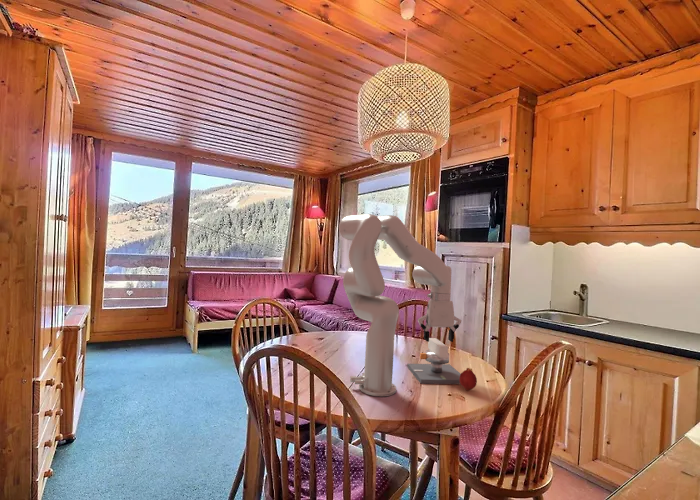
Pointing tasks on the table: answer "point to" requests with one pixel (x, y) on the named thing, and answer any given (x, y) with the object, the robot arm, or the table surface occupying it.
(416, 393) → the table surface
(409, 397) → the table surface
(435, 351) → the cap
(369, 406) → the table surface
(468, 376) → the onion
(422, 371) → the base
